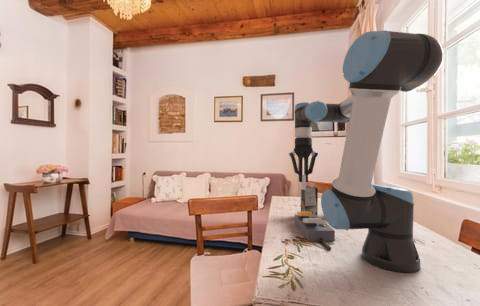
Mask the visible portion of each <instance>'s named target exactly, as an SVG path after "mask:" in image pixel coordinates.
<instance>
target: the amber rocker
mask: <svg viewBox="0 0 480 306" xmlns="http://www.w3.org/2000/svg"><path fill="white" fill-rule="evenodd" d="M296 215H299V216H313V214H312V212H301V211H296Z"/></svg>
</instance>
